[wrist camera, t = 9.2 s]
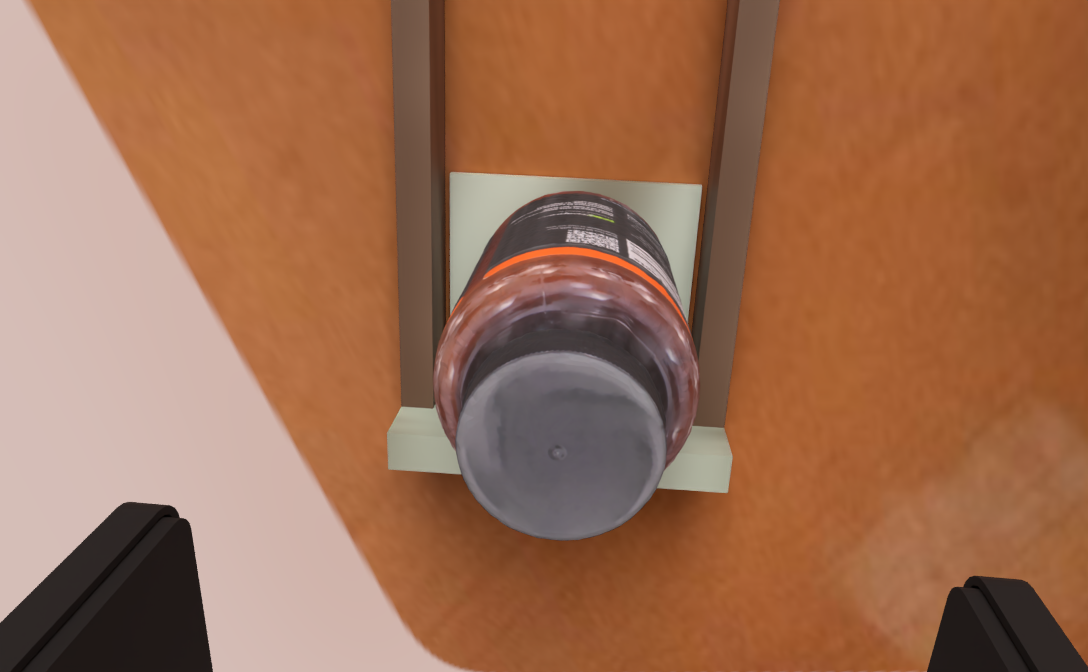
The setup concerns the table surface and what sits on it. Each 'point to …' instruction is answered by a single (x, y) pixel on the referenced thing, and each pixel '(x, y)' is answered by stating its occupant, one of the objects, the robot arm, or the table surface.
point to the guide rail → (497, 196)
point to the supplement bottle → (567, 368)
